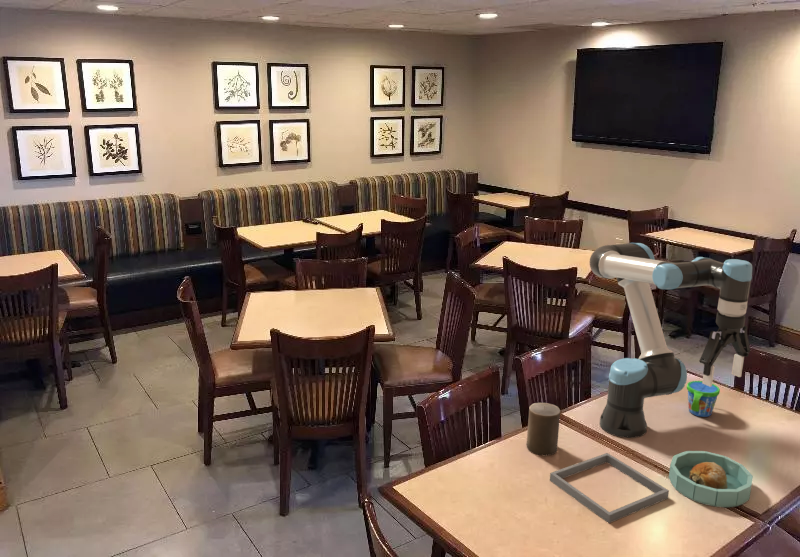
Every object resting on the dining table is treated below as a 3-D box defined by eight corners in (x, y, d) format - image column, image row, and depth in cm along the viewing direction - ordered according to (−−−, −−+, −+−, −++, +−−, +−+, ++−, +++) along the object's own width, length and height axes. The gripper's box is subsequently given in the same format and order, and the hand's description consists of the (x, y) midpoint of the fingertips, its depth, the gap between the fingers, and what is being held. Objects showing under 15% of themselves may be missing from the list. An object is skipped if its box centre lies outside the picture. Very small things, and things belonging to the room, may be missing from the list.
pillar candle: (544, 459, 206) (548, 415, 202) (520, 446, 213) (523, 404, 209) (563, 448, 212) (567, 406, 208) (538, 437, 219) (541, 395, 215)
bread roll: (722, 505, 187) (738, 484, 185) (689, 488, 188) (705, 467, 185) (713, 486, 197) (729, 465, 194) (682, 469, 197) (697, 449, 195)
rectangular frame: (549, 480, 194) (550, 472, 194) (606, 460, 205) (607, 452, 205) (608, 523, 175) (609, 515, 174) (667, 498, 186) (668, 490, 185)
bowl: (653, 477, 196) (655, 462, 194) (700, 458, 206) (702, 444, 204) (717, 516, 178) (720, 499, 177) (765, 493, 188) (768, 478, 187)
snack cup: (694, 401, 244) (697, 375, 241) (723, 410, 237) (727, 384, 234) (675, 415, 234) (679, 388, 231) (706, 425, 226) (709, 398, 224)
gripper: (715, 323, 184) (705, 393, 189) (769, 309, 195) (759, 376, 201) (691, 316, 190) (683, 384, 196) (746, 302, 202) (736, 367, 207)
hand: (721, 380), depth 198 cm, fingers open, 13 cm apart
